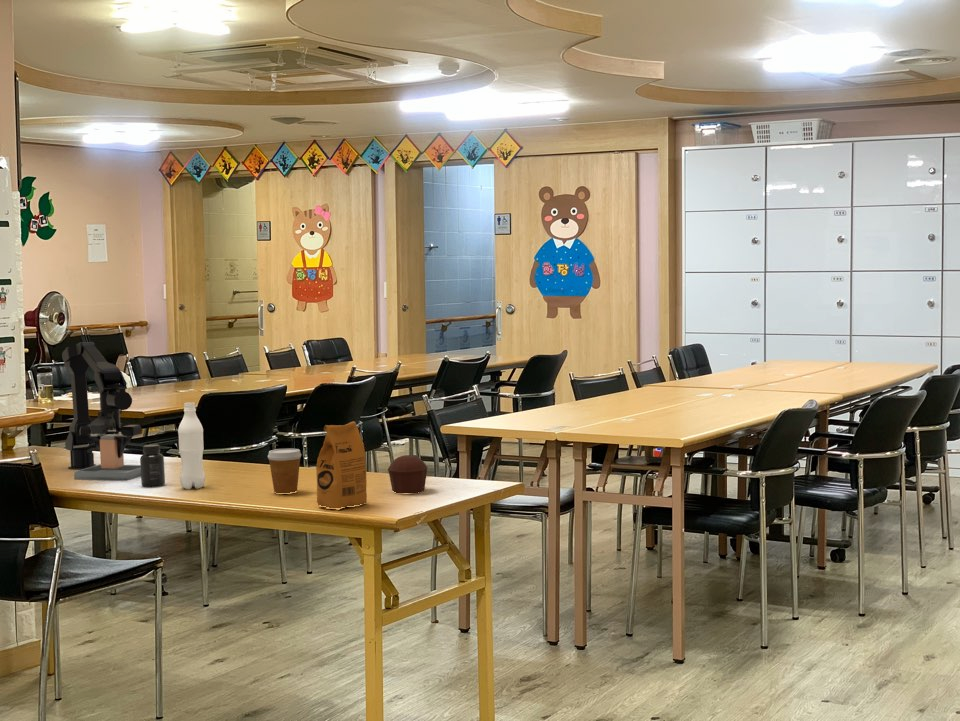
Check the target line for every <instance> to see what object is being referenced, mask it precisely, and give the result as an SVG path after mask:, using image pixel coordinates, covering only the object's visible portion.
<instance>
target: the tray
mask: <svg viewBox="0 0 960 721" xmlns="http://www.w3.org/2000/svg"><path fill="white" fill-rule="evenodd" d="M73 473H74V480H89V481H90V480H91V481H92V480H95V481H98V480H99V481H129V480H132V479H136V478H138V477H141V466H140V464H124V466H122V467H119V468H116V469H110V468H101V463H100V464H96V465H95V466H92V467H88V468H85V469H77V470H75V471H73Z"/></svg>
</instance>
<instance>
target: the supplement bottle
mask: <svg viewBox="0 0 960 721" xmlns="http://www.w3.org/2000/svg"><path fill="white" fill-rule="evenodd" d="M160 446H161V445H160V444H146V445H143V446H142V453H143V454H142V455H141V456H140V458H139V460H140V461H139V465H140V466H141V476H140V479H141V481H140V483H141V486H142V487H143V488H157V487H162V486H164V485H165V484H166V474H165V457H164V455H163V454H162V453H160V452H161V447H160Z"/></svg>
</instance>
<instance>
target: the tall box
mask: <svg viewBox="0 0 960 721" xmlns="http://www.w3.org/2000/svg"><path fill="white" fill-rule="evenodd" d="M117 436H119V433H107V435H104V436H100V437H101V439H100V449H99V453H100V455H99V456H100V457H99V458H100V464H101V468H110V469H116V468H119V467H122V466H124V465H125V460H124V453H123V454H122V456H121V458H118V447H117V440H116V438H115V437H117Z"/></svg>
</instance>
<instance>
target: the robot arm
mask: <svg viewBox="0 0 960 721" xmlns="http://www.w3.org/2000/svg"><path fill="white" fill-rule="evenodd" d="M101 353H102V352H100V351H99V350H98V348H97V346H96V344H95V342H93V341H83V342H79V343H76V344H75V345H72V346H67V347H65V349H64V350H62V353H61V356H62V361H63V363H64V368H65V369H66V370H67V372H68V373H69V374H70V384H71V398H72V411H73V419H72V421H71V423H70V425H69V428H68V430H69V431H68V432H69V433H68V434H67V437H66V439H65V443H64V444H65V450H67V451H69V452H70V453H69V454H70V455H69V456H70V466H68V467H67V469H71V470H73V469H77V470H81V469H85V468H88V467H92V466H95V465H97V464H95V454H94V452H93V449H96V448H97V447H98V449H99V450H100V439H101V437H100V436H104V435H108V434H119V436H117V437H115V438H116V440H117V447H118V458H121V456H122V454H123V455H124V451H125V448H126V446H127V444H128V442H129V440H130V438H132V437H134V436H138V435H142V434H143V428H142V427H141V425H140V424H128V425H123V422H121V414H122V413H123V411H127V410H128V409H129V408H131V406H132V404H133V398H132V396H131V394H130V393H129V392H127V391H126V390H127V389H128V387H127V384H128V383H127V381H126V379H125V377H124V374H123V372H122V370H121V369H120V368H119V367H118V366H117V365H115V364H113V363H111V362H108V361H107V359H106V358H105V356H103V354H101ZM89 368H91V369H92V371H93V372H94V377H93V380H94V381H95V384H96V385H97V386H98V390H97V392H98V394H99V409H100V411H98V412H97V418H95V419H94V420H92V419H91V418H90V411H89V398H88V385H87V384H88V383H87V372H88V370H89Z"/></svg>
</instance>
